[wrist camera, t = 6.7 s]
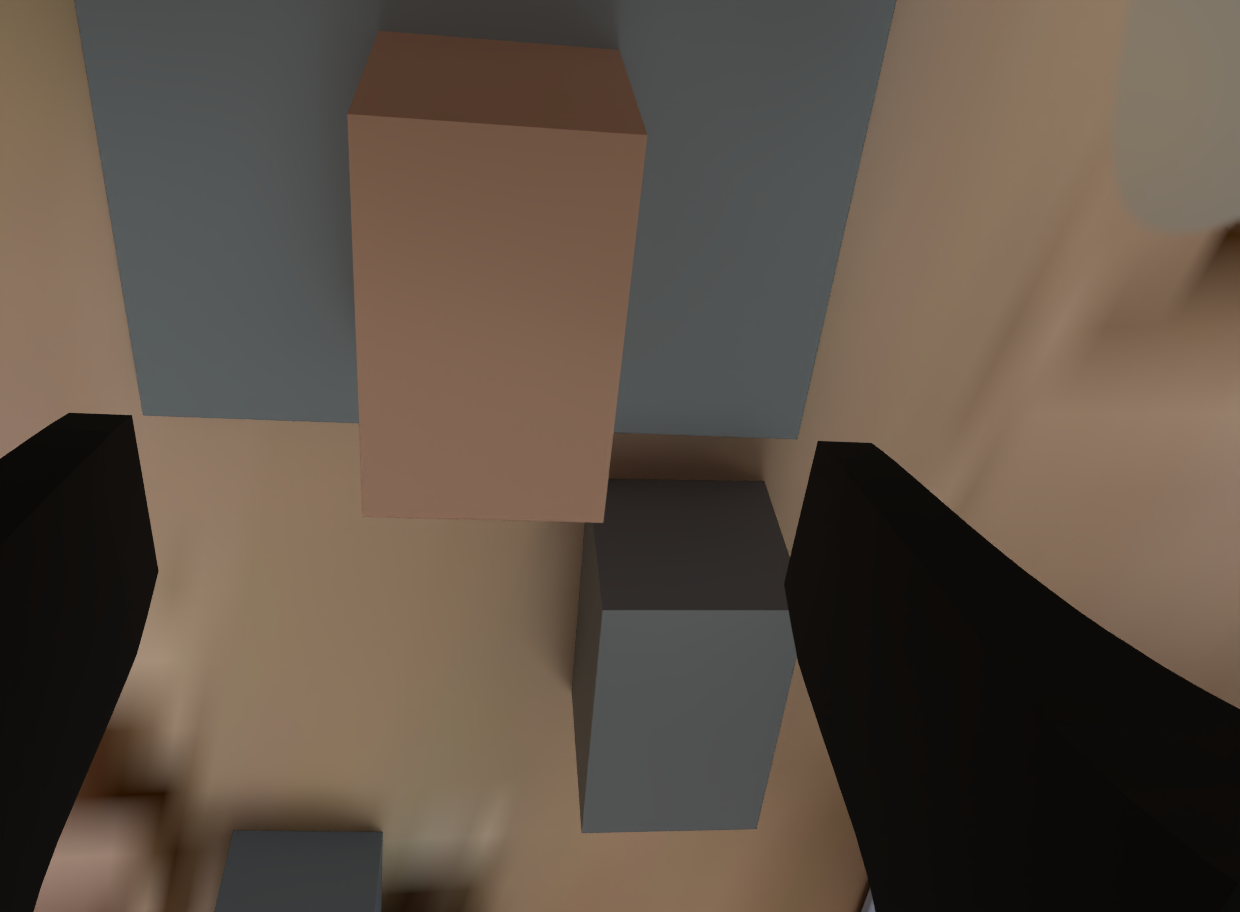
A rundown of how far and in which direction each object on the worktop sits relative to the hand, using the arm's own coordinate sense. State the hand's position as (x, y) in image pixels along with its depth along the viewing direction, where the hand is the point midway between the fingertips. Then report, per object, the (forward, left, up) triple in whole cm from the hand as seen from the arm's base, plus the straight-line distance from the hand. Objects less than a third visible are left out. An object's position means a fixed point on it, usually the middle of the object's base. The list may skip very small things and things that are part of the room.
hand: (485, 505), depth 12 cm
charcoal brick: (-4, +8, -8) cm, 13 cm away
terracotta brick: (0, 0, -8) cm, 8 cm away
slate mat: (0, -1, -8) cm, 8 cm away
